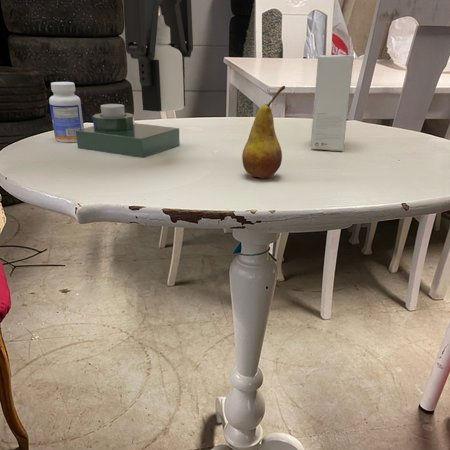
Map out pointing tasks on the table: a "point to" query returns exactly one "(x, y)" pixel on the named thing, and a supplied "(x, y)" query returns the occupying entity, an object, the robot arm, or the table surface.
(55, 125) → the pill bottle
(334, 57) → the cosmetic box
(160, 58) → the eye dropper bottle
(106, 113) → the pump button
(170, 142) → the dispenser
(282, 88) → the fruit
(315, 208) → the table surface
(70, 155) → the table surface
